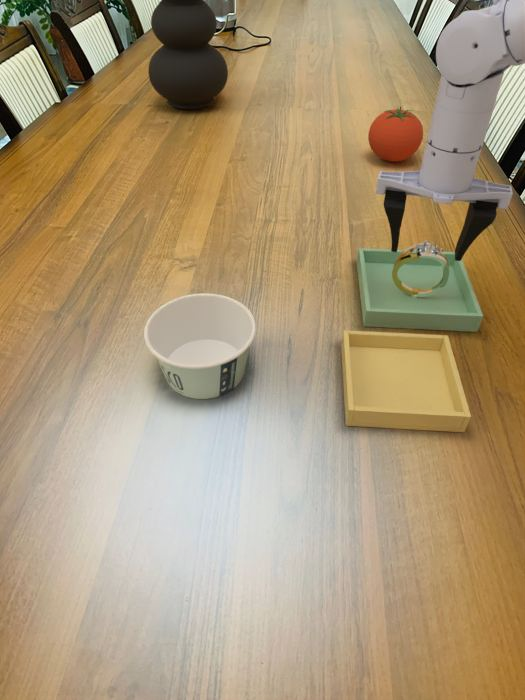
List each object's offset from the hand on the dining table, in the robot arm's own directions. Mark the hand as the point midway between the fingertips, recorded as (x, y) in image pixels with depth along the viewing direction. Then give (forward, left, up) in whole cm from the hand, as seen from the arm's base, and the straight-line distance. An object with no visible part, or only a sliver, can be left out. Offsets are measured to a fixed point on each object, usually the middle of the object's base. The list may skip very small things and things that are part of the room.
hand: (425, 252), depth 63 cm
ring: (0, 0, -7) cm, 7 cm away
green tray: (0, -1, -8) cm, 8 cm away
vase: (+43, -74, -8) cm, 86 cm away
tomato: (-2, -45, -8) cm, 46 cm away
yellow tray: (+4, +16, -8) cm, 18 cm away
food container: (+26, +15, -8) cm, 31 cm away
